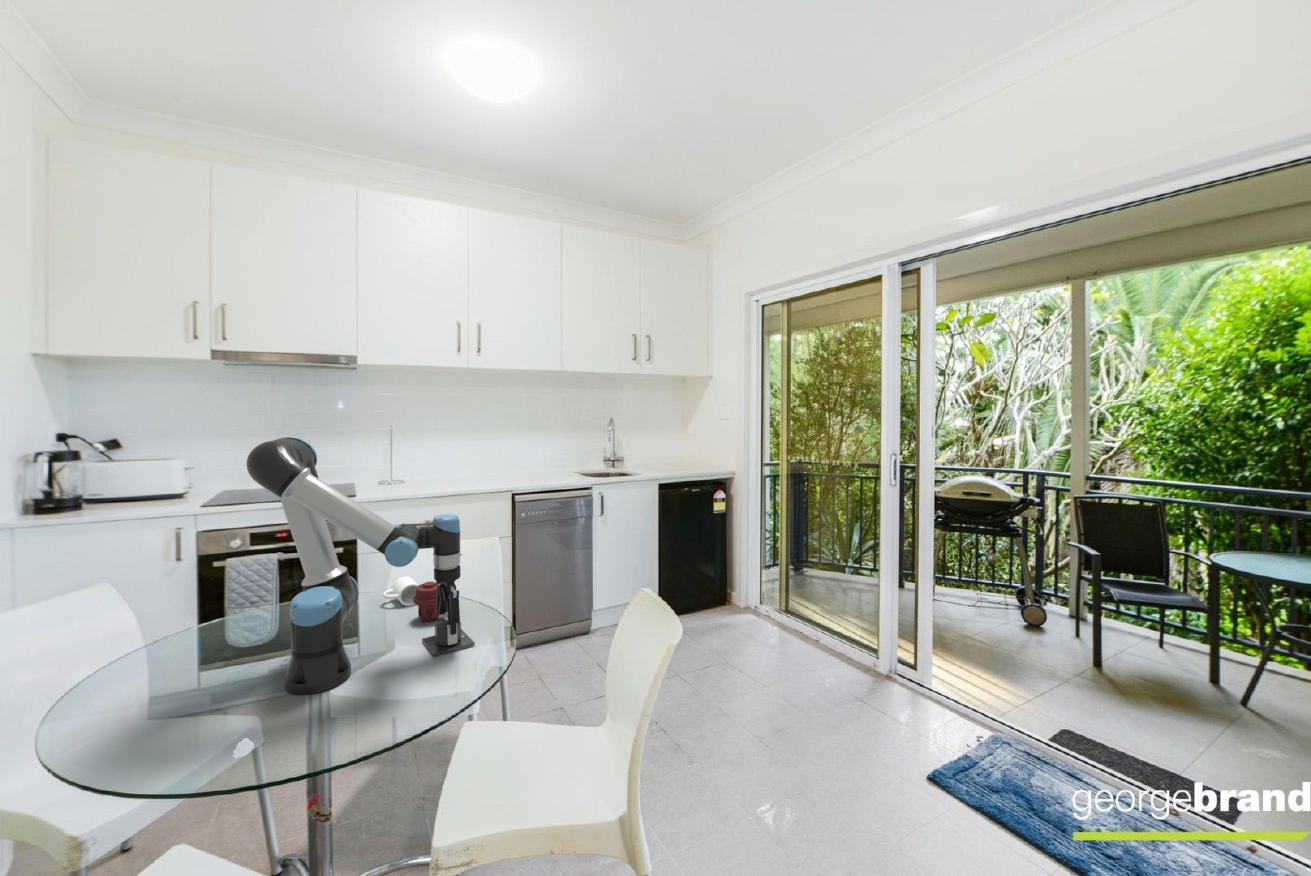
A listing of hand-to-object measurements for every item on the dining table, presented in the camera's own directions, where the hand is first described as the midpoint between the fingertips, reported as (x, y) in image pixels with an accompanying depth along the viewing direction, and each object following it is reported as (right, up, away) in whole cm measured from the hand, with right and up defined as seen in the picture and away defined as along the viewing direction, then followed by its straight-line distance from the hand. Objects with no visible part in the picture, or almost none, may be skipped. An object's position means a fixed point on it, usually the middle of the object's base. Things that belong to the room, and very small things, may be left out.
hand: (448, 638), depth 166 cm
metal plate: (0, -2, 0) cm, 2 cm away
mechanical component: (-13, 0, +18) cm, 22 cm away
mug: (-29, +1, +31) cm, 42 cm away
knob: (0, 0, 0) cm, 0 cm away
